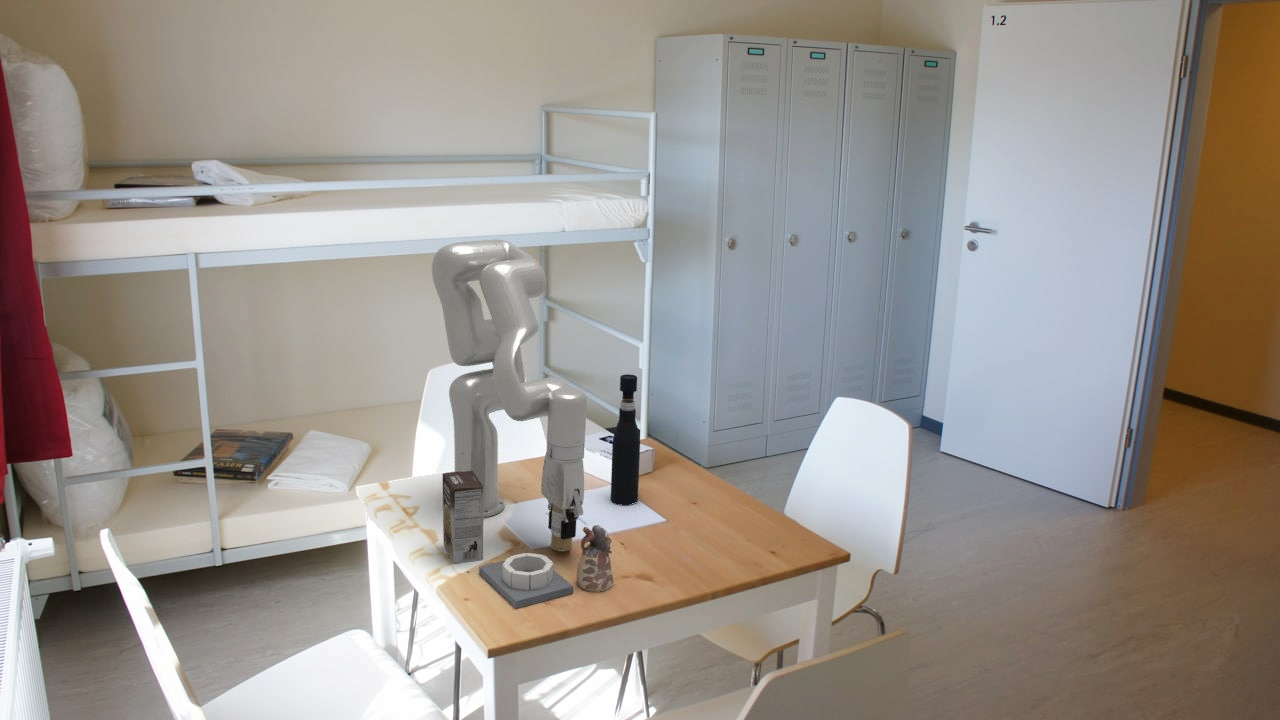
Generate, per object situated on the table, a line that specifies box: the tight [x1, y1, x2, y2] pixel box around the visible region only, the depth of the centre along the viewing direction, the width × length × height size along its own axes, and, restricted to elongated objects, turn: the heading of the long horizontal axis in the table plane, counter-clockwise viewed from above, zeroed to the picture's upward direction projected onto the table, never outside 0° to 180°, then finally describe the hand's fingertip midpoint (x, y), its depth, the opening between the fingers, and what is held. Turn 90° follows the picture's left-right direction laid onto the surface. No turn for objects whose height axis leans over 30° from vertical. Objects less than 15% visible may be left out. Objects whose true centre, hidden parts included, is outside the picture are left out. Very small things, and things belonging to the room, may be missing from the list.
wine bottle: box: [610, 374, 641, 506], centre depth 231 cm, size 6×6×30 cm
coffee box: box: [441, 471, 484, 565], centre depth 202 cm, size 9×6×16 cm
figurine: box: [576, 524, 614, 593], centre depth 192 cm, size 7×7×12 cm
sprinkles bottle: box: [550, 503, 573, 552], centre depth 205 cm, size 5×5×14 cm
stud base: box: [478, 552, 574, 609], centre depth 192 cm, size 16×12×4 cm
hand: (561, 532), depth 206 cm, fingers closed on sprinkles bottle, 4 cm apart
